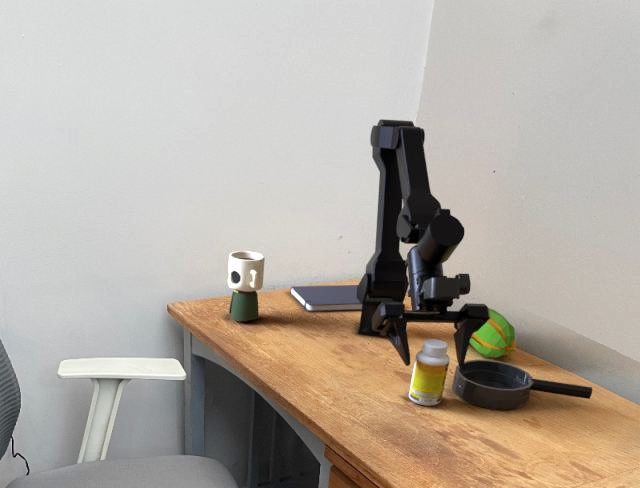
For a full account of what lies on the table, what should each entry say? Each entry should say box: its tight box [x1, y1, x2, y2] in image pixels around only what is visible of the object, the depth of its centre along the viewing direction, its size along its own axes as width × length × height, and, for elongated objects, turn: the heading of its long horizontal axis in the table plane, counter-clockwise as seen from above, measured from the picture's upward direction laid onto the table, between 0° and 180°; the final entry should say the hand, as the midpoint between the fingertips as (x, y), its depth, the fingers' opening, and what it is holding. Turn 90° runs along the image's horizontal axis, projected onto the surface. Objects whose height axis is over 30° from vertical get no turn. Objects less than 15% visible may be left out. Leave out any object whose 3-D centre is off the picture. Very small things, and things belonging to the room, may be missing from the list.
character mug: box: [227, 250, 266, 322], centre depth 158 cm, size 11×7×13 cm, turn 22°
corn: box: [469, 307, 517, 359], centre depth 155 cm, size 7×8×20 cm
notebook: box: [289, 284, 362, 312], centre depth 176 cm, size 13×2×21 cm
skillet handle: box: [531, 377, 593, 400], centre depth 134 cm, size 10×2×2 cm, turn 77°
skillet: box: [451, 359, 534, 411], centre depth 136 cm, size 13×13×4 cm
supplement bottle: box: [408, 338, 450, 407], centre depth 131 cm, size 6×6×10 cm
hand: (435, 365), depth 128 cm, fingers open, 9 cm apart
